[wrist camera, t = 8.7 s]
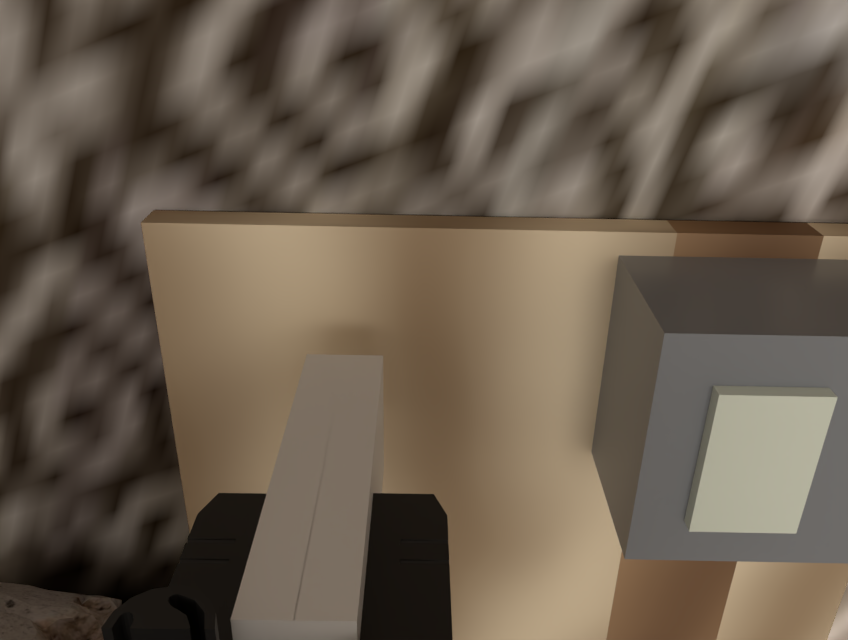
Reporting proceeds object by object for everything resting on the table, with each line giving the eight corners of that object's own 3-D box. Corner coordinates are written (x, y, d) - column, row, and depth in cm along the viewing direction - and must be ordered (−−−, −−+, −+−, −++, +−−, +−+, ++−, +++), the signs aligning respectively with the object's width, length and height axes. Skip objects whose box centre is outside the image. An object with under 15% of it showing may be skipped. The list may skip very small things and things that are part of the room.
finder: (591, 451, 18) (627, 570, 15) (618, 255, 16) (669, 342, 12) (802, 455, 18) (888, 575, 15) (859, 259, 16) (976, 347, 12)
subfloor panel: (239, 787, 25) (233, 812, 25) (153, 210, 16) (141, 222, 16) (751, 798, 25) (761, 823, 25) (946, 225, 16) (970, 238, 16)
